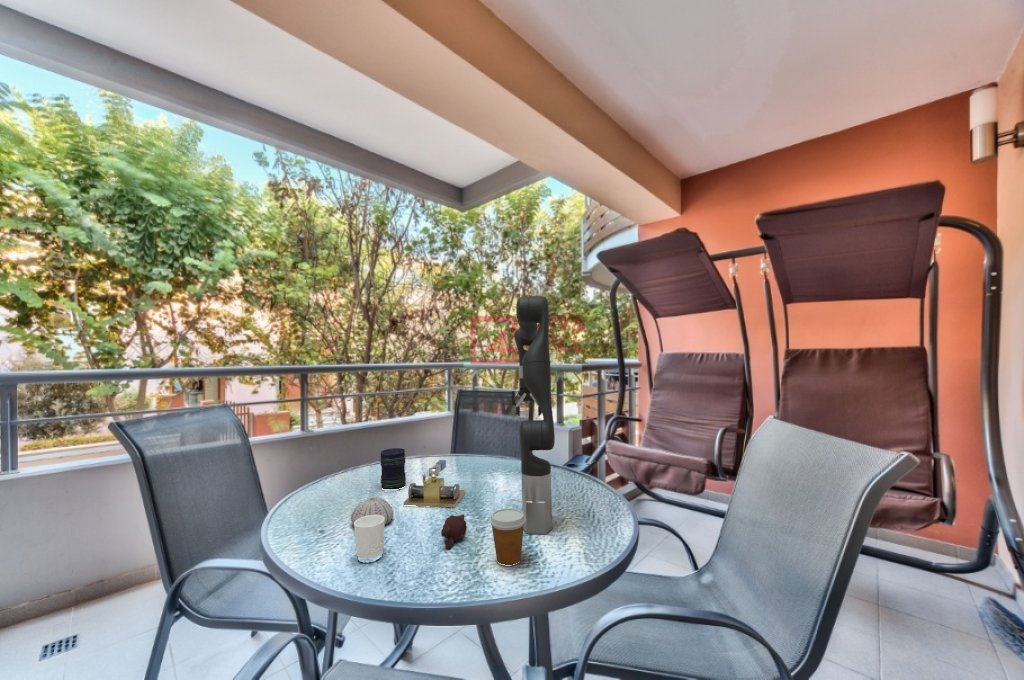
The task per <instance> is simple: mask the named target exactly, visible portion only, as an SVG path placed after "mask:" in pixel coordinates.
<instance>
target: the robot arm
mask: <svg viewBox="0 0 1024 680" xmlns="http://www.w3.org/2000/svg"><path fill="white" fill-rule="evenodd" d="M515 305H516V306H515V308H516V311H515V313H516V314H515V315H516V320H517V323H518V326H519V327H518V329H517V330H515V332H514V334H513V338H514V343H515V344H516V347H517V351H518V352H517V353H518V363H519V364H518V366H519V368H518V380H519V381H518V386H519V388H518V390H512V391H511V406H514V407H515V414H516V415H517V416H518V417H519V416H521V406H520V405H521V403H523V401H524V402H533V401H534V402H535V403H536V404H537V413H538V414H537V417H541V415H542V419H536V420H535V419H534V420H533V419H529V420H527V419H526V420H522V421H521V422H520V424H519V430H518V431H519V433H518V434H519V447H520V459H521V463H520V465H521V467H520V470H521V471H520V474H521V476H520V477H521V507H522V509H521V511H522V512H523V514H524V517H525V519H526V521H525V524H524V529H523V531H525V534H530V535H532V534H533V535H534V534H535V535H547V534H548V533H549V532H550V531H552V529H553V502H552V501H553V500H552V467H551V466H552V465H551V463H550V462H549V461H548V460H546V459H544V458H540V457H538V456H536V455H535V454H533V453H532V451H551V450H553V449H554V446H555V440H556V438H555V425H554V416H553V414H554V413H553V404H552V375H551V374H552V373H551V372H552V371H551V370H552V369H551V359H550V358H551V356H550V355H551V354H550V344H549V343H550V341H549V332H550V331H549V330H550V329H549V327H550V326H549V323H550V319H549V318H550V316H549V315H550V314H549V313H550V311H549V310H550V309H549V308H550V307H549V301H548V298H547V297H546V296H543V295H541V296H538V295H537V296H529V295H528V296H526V295H525V296H521V297H519V298H518V299H517V301H516V304H515ZM538 324H539V326H538ZM524 346H527V347H528V349H525V348H524ZM518 395H519V397H520V398H519V400H518V401H517V402H516V397H517V396H518Z"/></svg>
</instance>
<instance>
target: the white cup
mask: <svg viewBox="0 0 1024 680" xmlns="http://www.w3.org/2000/svg"><path fill="white" fill-rule="evenodd" d="M385 526H386V524H385V518H384V517H383V516H381V515H368V516H364V517H361V518H359V519H357V520H356V521H355V522H354V524H353V527H354V539H355V540H354V542H355V549H356V557H357V556H358V557H360V558H373V557H374V558H375V557H377V556H379V555H381V554H382V553H383V554H384V546H385Z"/></svg>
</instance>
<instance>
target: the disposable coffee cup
mask: <svg viewBox="0 0 1024 680" xmlns="http://www.w3.org/2000/svg"><path fill="white" fill-rule="evenodd" d="M525 521H526V519H525V517H524V514H523V512H522V510H520V509H517V508H510V507H509V508H500V509H496V510H495V511H493V512H492V513H491V516H490V518H489V522H490V525H491V528H492V529H491V530H492V537H493V542H494V543H493V544H494V550H495V557H496V562H497V561H498V562H499V563H501V564H505V565H513V564H516V563H518V562H519V561H520V560H521V559H522V551H523V550H522V547H523V538H524V524H525ZM521 561H522V560H521ZM521 561H520V562H521Z"/></svg>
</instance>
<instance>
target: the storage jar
mask: <svg viewBox="0 0 1024 680" xmlns="http://www.w3.org/2000/svg"><path fill="white" fill-rule="evenodd" d="M379 461H380V466H381V468H380V470H381V475H380V486H381V487H382V488H383V489H399V488H402V487H404V486H405V485H406V480H407V476H406V472H405V471H406V469H405V468H406V466H405V465H406V450H405V448H397V447H394V448H388V449H384V450H381V451H380V460H379Z"/></svg>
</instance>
